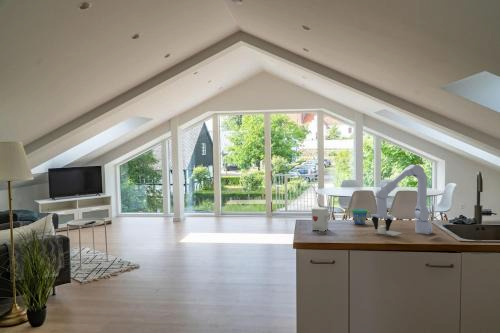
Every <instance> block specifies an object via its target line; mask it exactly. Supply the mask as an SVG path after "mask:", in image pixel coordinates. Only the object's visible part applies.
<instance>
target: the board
mask: <svg viewBox="0 0 500 333" xmlns="http://www.w3.org/2000/svg"><path fill="white" fill-rule="evenodd" d="M375 234H377V235H380V234H379V233H378V231H376V232H375ZM401 234H403V232H399V231H393V230H389V231H386V234H382V235H384V236H390V237H394V236H399V235H401Z"/></svg>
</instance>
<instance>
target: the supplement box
mask: <svg viewBox="0 0 500 333" xmlns="http://www.w3.org/2000/svg"><path fill="white" fill-rule="evenodd" d="M327 229H328V230H329V207H324V206H323V207H322V206H321V207H319V206H315V207H313V208H311V231H312V230H319V231H318V232H324V231H325V230H326V231H328V230H327ZM326 231H325V232H326Z"/></svg>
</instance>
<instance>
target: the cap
mask: <svg viewBox="0 0 500 333" xmlns="http://www.w3.org/2000/svg"><path fill="white" fill-rule="evenodd" d="M377 232H378V233H379V234H378V235H383V234H386V225H378V229H377Z"/></svg>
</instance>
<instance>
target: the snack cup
mask: <svg viewBox="0 0 500 333" xmlns="http://www.w3.org/2000/svg"><path fill="white" fill-rule="evenodd" d="M351 213H352V216H353V222H354V224H355V225H364V224H366V220H367V219H366V218H367V214H368V215H369V219H371V218H372V217H371V212H370V211H369V210H368V209H365V208H353V209H352V210H349V212H348V219H351Z"/></svg>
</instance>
